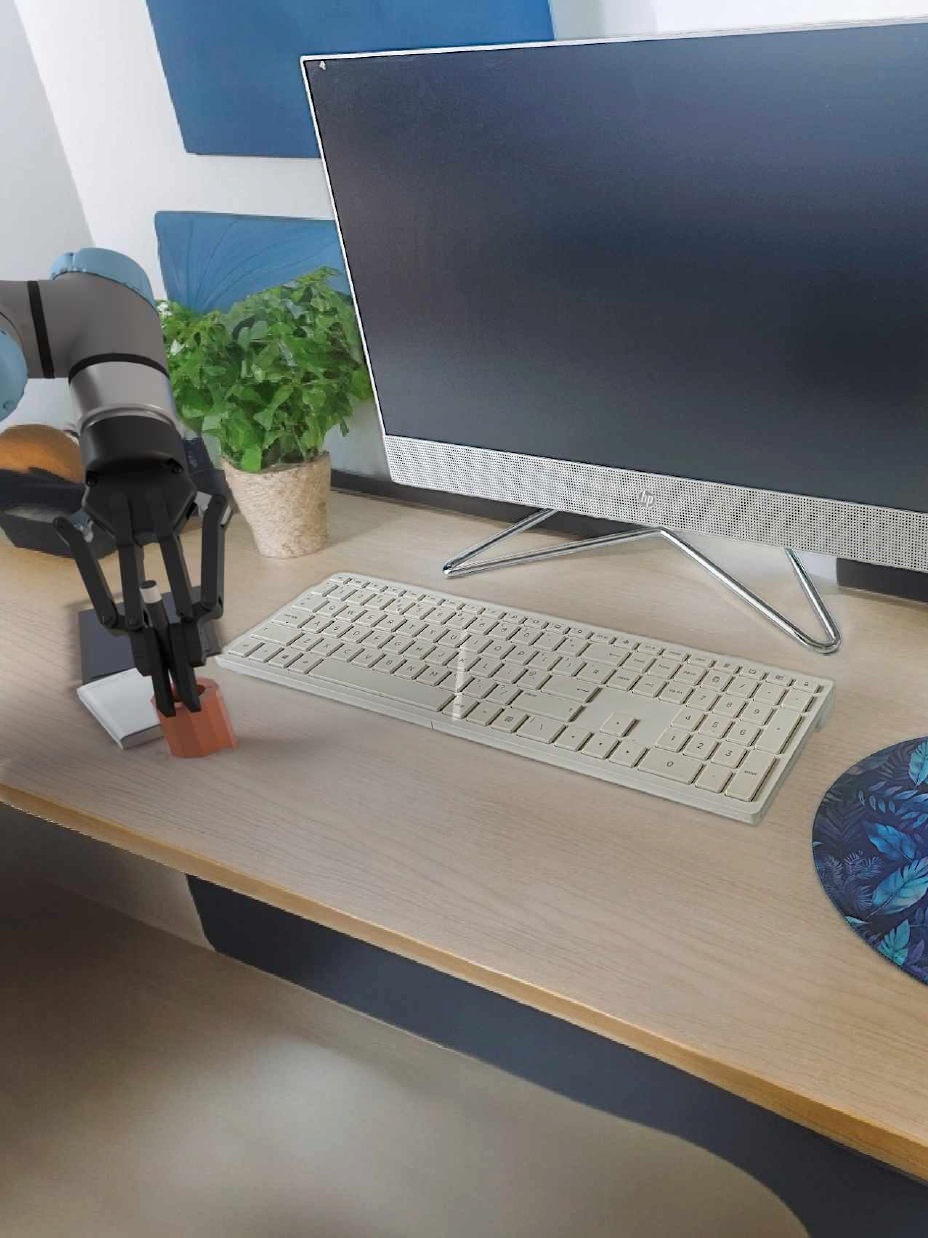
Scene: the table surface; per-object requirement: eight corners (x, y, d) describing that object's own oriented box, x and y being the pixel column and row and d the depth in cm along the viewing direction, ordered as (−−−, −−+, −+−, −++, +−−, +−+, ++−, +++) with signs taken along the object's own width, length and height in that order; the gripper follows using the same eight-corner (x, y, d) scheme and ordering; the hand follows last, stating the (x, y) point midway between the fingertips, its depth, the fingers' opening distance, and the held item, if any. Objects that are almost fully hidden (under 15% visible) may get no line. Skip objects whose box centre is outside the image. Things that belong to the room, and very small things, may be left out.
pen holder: (167, 776, 96) (143, 711, 92) (182, 744, 100) (160, 681, 97) (231, 768, 96) (210, 704, 93) (243, 736, 100) (223, 674, 97)
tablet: (222, 657, 113) (220, 650, 113) (84, 691, 109) (81, 683, 108) (202, 590, 127) (200, 583, 127) (79, 617, 123) (77, 610, 122)
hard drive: (217, 702, 102) (167, 655, 111) (118, 738, 98) (74, 686, 106) (222, 719, 103) (172, 670, 111) (124, 755, 99) (80, 702, 107)
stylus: (195, 755, 97) (136, 587, 89) (198, 747, 98) (140, 580, 90) (211, 753, 97) (153, 585, 89) (214, 745, 98) (157, 578, 90)
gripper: (232, 445, 101) (284, 704, 97) (50, 470, 98) (95, 741, 93) (212, 398, 94) (267, 676, 90) (15, 424, 91) (61, 715, 86)
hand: (179, 709), depth 91 cm, fingers closed on stylus
